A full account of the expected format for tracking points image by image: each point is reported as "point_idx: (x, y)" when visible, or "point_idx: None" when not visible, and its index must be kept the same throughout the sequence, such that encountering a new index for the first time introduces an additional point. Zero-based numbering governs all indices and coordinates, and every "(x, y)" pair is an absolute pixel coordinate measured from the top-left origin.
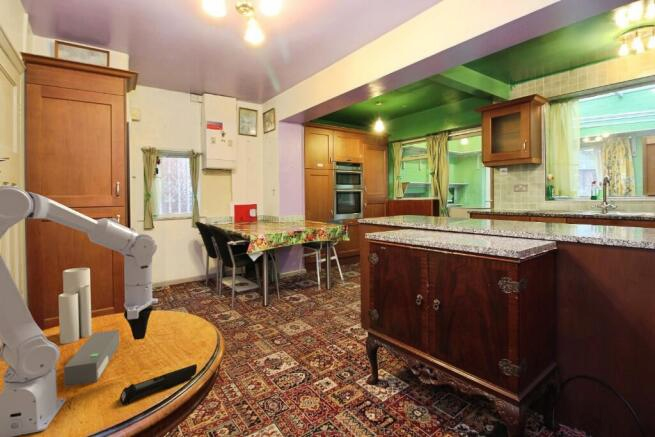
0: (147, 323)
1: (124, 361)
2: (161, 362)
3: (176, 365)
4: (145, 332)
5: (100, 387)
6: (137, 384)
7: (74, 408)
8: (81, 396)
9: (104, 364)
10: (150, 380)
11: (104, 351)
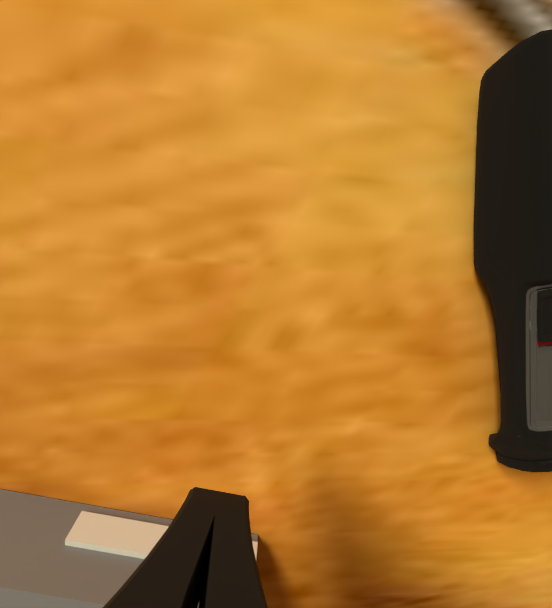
0: (141, 585)
1: (78, 435)
2: (190, 253)
3: (286, 166)
4: (229, 529)
5: (325, 520)
6: (526, 415)
7: (450, 586)
8: (363, 573)
9: (147, 540)
10: (536, 354)
11: (87, 596)
